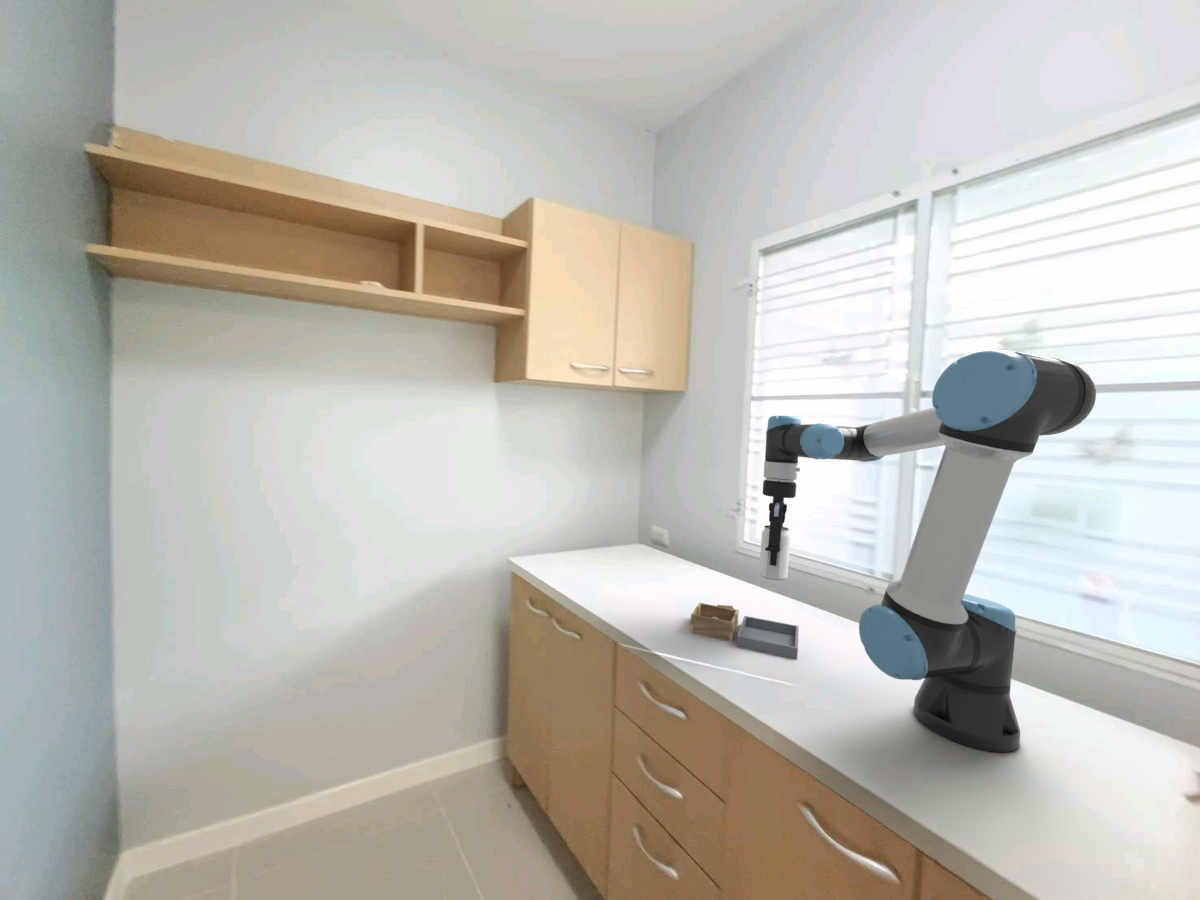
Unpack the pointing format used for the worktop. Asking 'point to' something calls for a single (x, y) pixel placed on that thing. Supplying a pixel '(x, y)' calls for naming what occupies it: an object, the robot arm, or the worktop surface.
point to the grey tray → (768, 637)
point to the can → (783, 553)
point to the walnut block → (726, 606)
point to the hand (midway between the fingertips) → (773, 574)
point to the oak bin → (714, 621)
